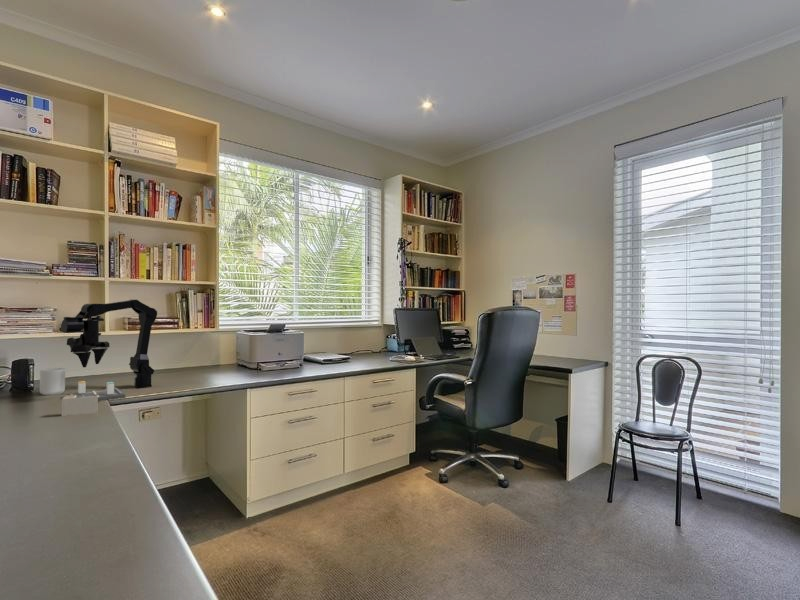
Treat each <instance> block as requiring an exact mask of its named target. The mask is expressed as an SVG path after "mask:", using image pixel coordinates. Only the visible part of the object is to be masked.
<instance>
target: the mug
mask: <svg viewBox="0 0 800 600" xmlns="http://www.w3.org/2000/svg"><path fill="white" fill-rule="evenodd" d="M65 390H66V368H65V367H52V368H51V367H50V368H42V369H39V393H40V394H41V395H42V396H53V395H55V396H56V395H60V394H63V392H65Z"/></svg>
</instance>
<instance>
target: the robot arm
mask: <svg viewBox="0 0 800 600" xmlns="http://www.w3.org/2000/svg"><path fill="white" fill-rule="evenodd" d="M126 309H127V310H128V309H132V310H133V311H134V312H135V313H136V314H137V315H138V321H139V324H140V326H139V333H138V338H137V339H138V340H137V345H136V346H137V347H136V352H135V354H134V355H133V356H130V357H129V360H130V361H129V364H128V365H129V368H130V370H132V372H133V374H134V375H135V377H134V378H133V384H134V385H133V386H134V387H135V388H136V389H141V388H149V387H150V388H151V387H153V385H152V375H153V374H154V372H155V370H154V369H153V368H152V366H150V359H149V356H148V350H149V345H150V339H151V331H152V326H153V324H154V323H155V322H156V320H157V316H158V311H157V310H156V308H153V307H150V306H149V305H147V304H145V303H143V302H141V301H140V300H138V299H129V300H123V301H116V302H115V301H114V302H107V303H84V304H83V305H82V306H81V309H80V311H79V312H78V313H77V314H76V315H75V316H73V317H70V316H64V317H63V320H62V321H61V324H60V329H61V332H62V333H67V334H68V333H80V332H81V331H82V333H80V334H79V337H77V338H75V337H74V336H73V337H69V338H67V339H66V346H69V347H70V353H72V354H74V355H76V356H77V357H78V359H79V360H80V363H81V366H82V368H87V366H88V364H89V360H90V357H91V354H92V352H93V355H94V362H95V365H99V364H100V362H101V360H102V358H103V356H104V355H105V354H106V352H107V350H108V348H110V342H109V341H107V340H106V341H105V340H104V341H100V336H102V332H100V322H104V321H105V319H104V318H103V317H102V316H101V315H103V314H106V313H108V312H109V313H110V312H115V311H121V310H126Z"/></svg>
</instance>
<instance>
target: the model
mask: <svg viewBox="0 0 800 600" xmlns="http://www.w3.org/2000/svg"><path fill="white" fill-rule="evenodd" d="M98 394H99V393H97V394H96V395H94V396H93V397H80V398H76V395H68V396H66V395H64V396H63V397H62V398H61V417H68V416H67V415H70V416H80V414H81V415H90V414H98V407H99V406H98V402H99V401H98V396H97V395H98Z"/></svg>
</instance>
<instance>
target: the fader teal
mask: <svg viewBox="0 0 800 600" xmlns="http://www.w3.org/2000/svg"><path fill="white" fill-rule="evenodd" d="M105 383H106V384H105V385H106V386H105V387H106V388H105V389H106V394H107V395H108V394H114V387H115V382H114V381H107V382H106V381H105Z"/></svg>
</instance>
